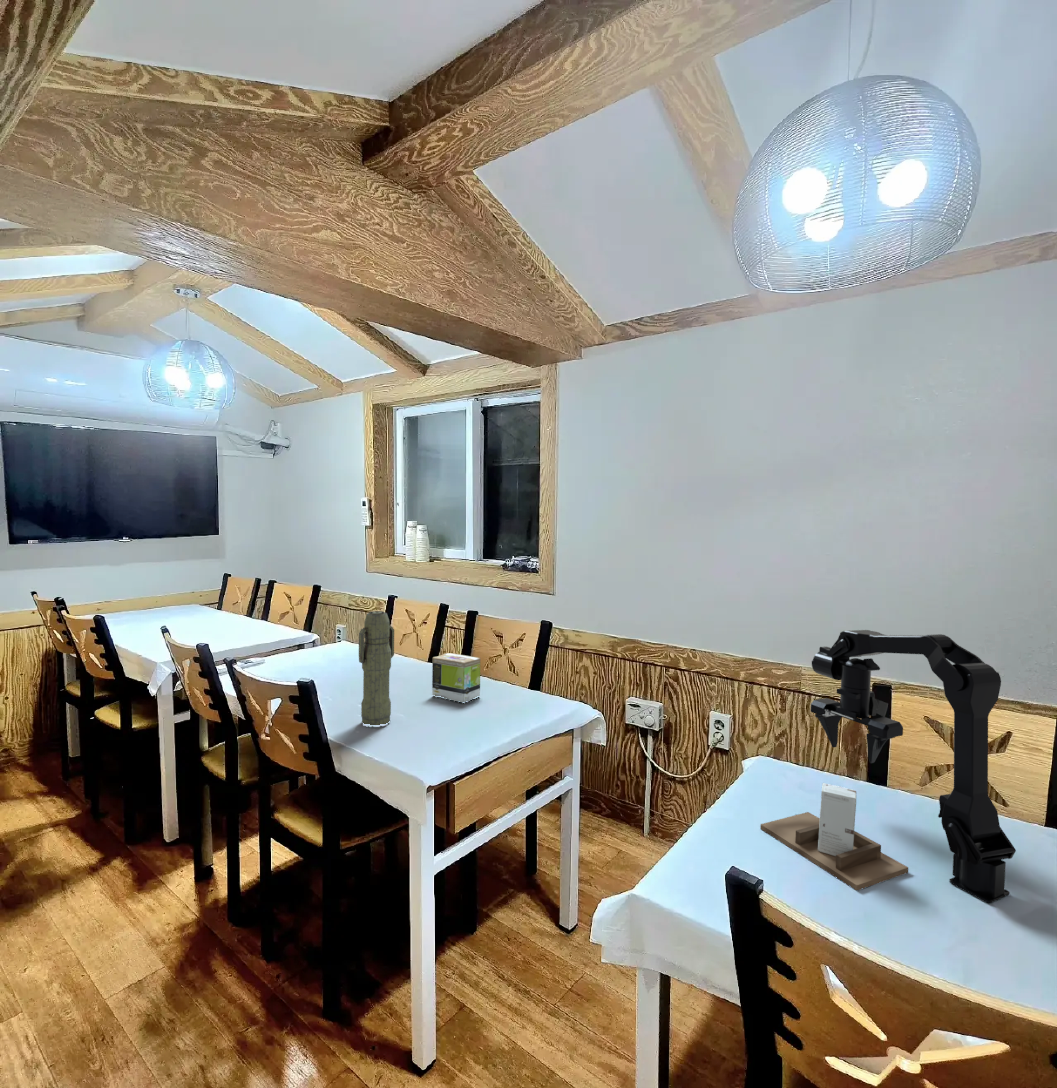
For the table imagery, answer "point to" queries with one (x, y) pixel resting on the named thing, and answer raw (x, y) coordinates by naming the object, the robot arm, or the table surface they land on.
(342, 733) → the table surface
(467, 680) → the tea box
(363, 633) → the olive robed figurine
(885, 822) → the table surface
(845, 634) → the robot arm
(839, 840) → the skincare box
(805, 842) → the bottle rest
